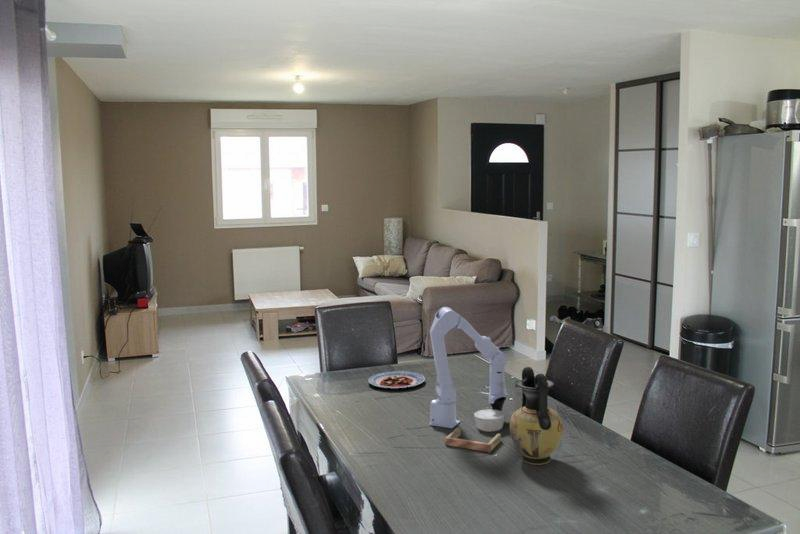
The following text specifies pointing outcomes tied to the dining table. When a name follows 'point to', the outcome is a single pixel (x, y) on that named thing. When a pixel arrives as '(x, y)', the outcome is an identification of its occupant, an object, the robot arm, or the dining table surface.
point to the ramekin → (489, 420)
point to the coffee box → (518, 396)
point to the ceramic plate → (396, 379)
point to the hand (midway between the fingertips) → (497, 416)
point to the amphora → (535, 420)
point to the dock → (471, 442)
